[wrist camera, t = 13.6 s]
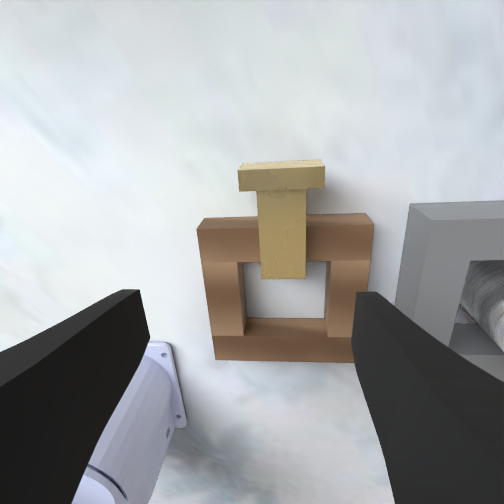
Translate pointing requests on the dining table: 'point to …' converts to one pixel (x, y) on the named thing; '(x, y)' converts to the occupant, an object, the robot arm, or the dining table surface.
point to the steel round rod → (486, 297)
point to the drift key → (282, 212)
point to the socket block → (285, 329)
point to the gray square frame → (450, 273)
